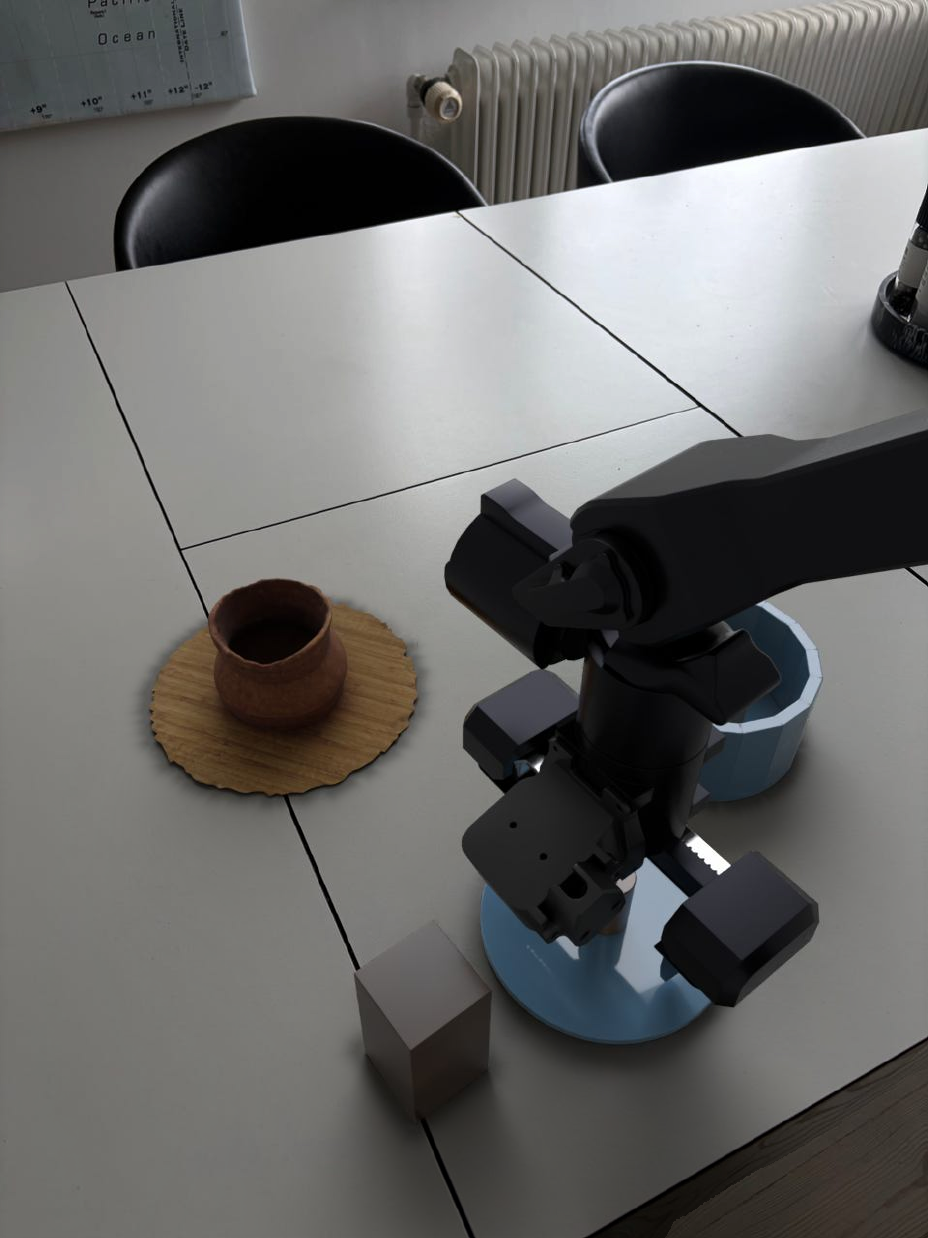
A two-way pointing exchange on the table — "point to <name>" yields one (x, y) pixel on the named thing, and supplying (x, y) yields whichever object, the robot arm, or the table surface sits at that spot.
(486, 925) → the bowl lid
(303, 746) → the ceramic pot
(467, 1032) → the stand
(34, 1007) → the table surface
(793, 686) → the bowl
